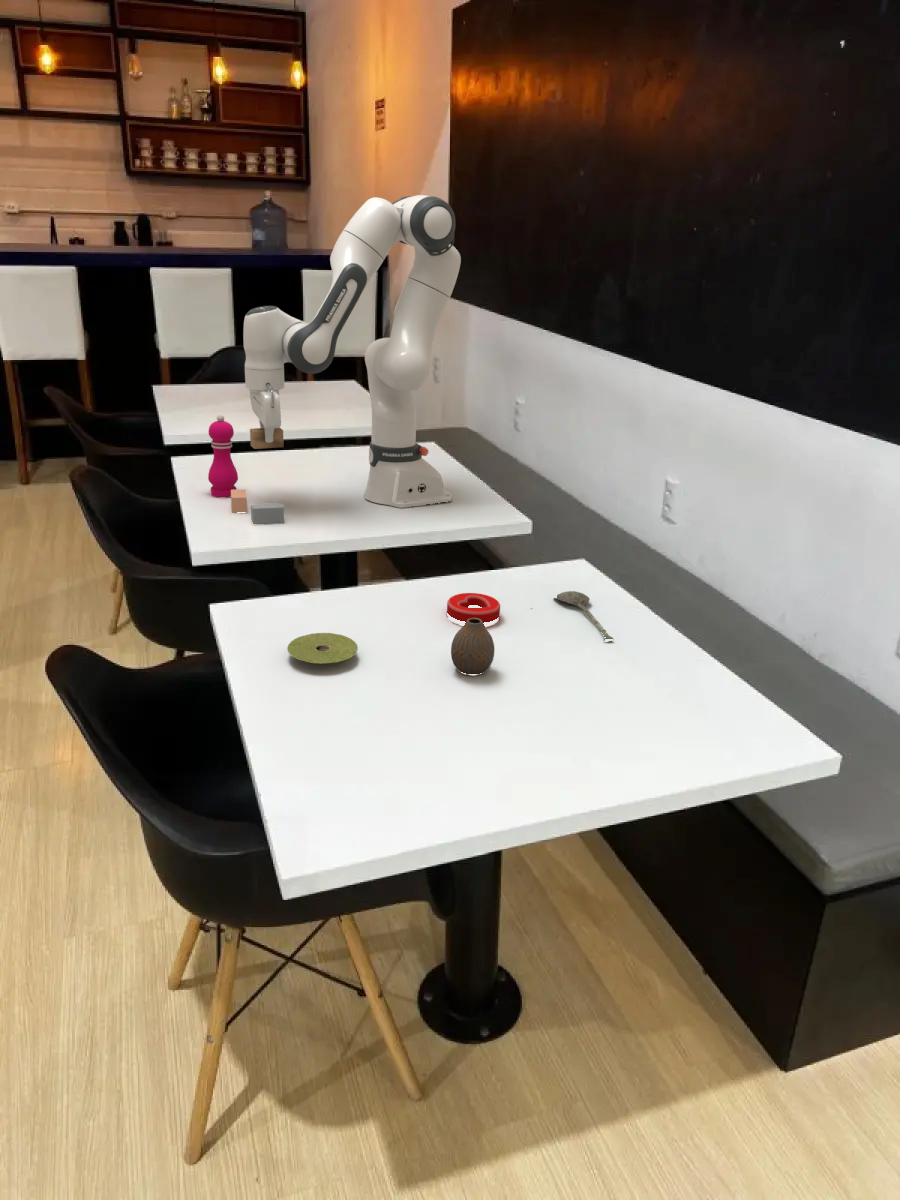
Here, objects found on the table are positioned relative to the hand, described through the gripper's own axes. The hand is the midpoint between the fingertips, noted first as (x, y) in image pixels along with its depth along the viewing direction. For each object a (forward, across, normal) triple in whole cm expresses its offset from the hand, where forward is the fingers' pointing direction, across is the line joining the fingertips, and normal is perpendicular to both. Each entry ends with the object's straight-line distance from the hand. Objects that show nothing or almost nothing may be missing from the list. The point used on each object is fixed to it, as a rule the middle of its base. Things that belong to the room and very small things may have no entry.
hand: (267, 439), depth 216 cm
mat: (+16, -84, +5) cm, 86 cm away
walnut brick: (+2, 0, 0) cm, 2 cm away
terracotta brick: (+16, -1, +8) cm, 18 cm away
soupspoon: (+18, -79, -45) cm, 93 cm away
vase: (+17, -94, -17) cm, 97 cm away
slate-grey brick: (+17, -12, +2) cm, 21 cm away
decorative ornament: (+17, -74, -25) cm, 80 cm away
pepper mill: (+16, +12, +10) cm, 23 cm away
